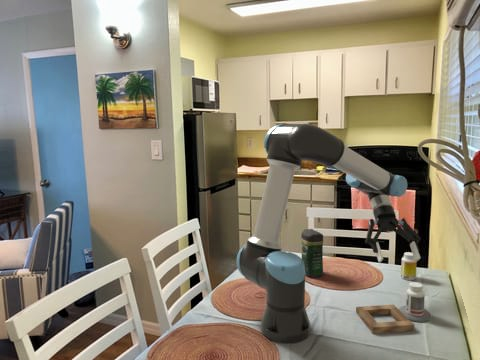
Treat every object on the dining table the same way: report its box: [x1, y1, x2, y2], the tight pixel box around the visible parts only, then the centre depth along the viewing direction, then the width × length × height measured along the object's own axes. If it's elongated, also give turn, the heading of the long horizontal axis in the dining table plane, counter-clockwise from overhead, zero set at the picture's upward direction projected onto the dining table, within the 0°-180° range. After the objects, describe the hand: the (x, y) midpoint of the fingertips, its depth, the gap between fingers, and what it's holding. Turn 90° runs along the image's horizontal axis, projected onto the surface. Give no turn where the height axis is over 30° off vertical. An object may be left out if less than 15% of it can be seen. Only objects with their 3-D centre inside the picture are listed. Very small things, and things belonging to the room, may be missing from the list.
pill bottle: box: [405, 281, 426, 316], centre depth 126 cm, size 5×5×10 cm
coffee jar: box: [300, 228, 324, 278], centre depth 161 cm, size 10×8×19 cm
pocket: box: [355, 304, 415, 334], centre depth 123 cm, size 13×13×2 cm
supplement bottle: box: [400, 251, 418, 281], centre depth 155 cm, size 6×6×10 cm
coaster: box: [398, 305, 432, 323], centre depth 127 cm, size 10×10×1 cm
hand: (399, 260), depth 136 cm, fingers open, 13 cm apart
